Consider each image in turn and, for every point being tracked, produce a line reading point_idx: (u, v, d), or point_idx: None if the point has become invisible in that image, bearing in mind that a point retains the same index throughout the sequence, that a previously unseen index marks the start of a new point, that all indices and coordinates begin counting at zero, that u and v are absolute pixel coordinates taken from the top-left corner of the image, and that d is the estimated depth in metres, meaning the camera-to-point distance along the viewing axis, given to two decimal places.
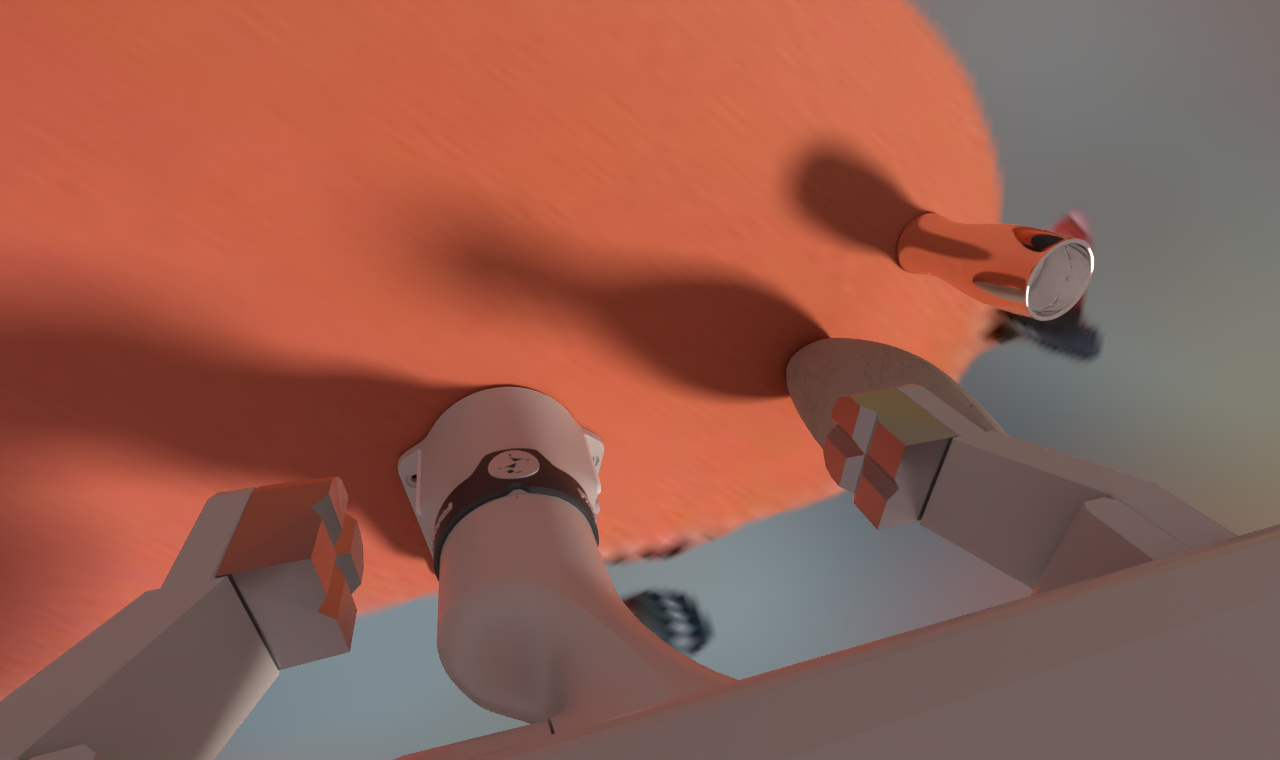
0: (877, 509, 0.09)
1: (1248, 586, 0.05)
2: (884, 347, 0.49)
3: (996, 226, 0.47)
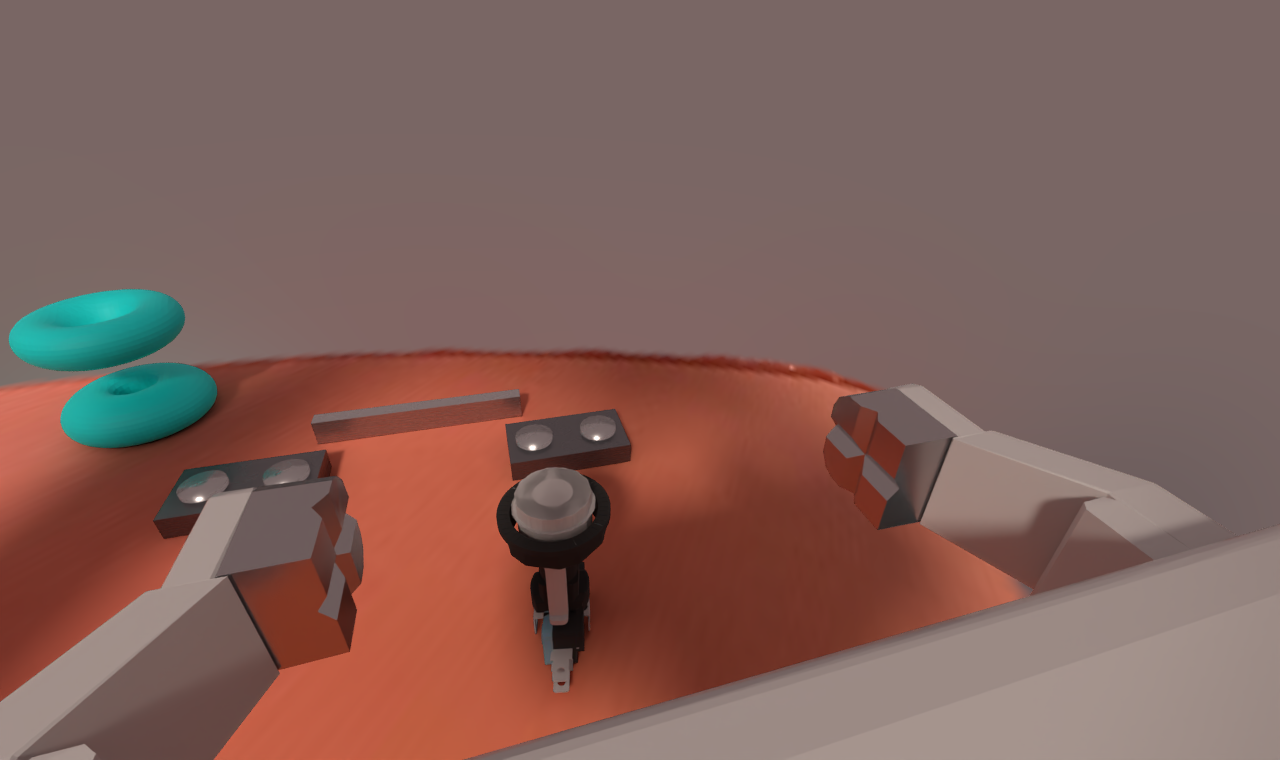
0: (878, 509, 0.09)
1: (1248, 586, 0.05)
2: None
3: None
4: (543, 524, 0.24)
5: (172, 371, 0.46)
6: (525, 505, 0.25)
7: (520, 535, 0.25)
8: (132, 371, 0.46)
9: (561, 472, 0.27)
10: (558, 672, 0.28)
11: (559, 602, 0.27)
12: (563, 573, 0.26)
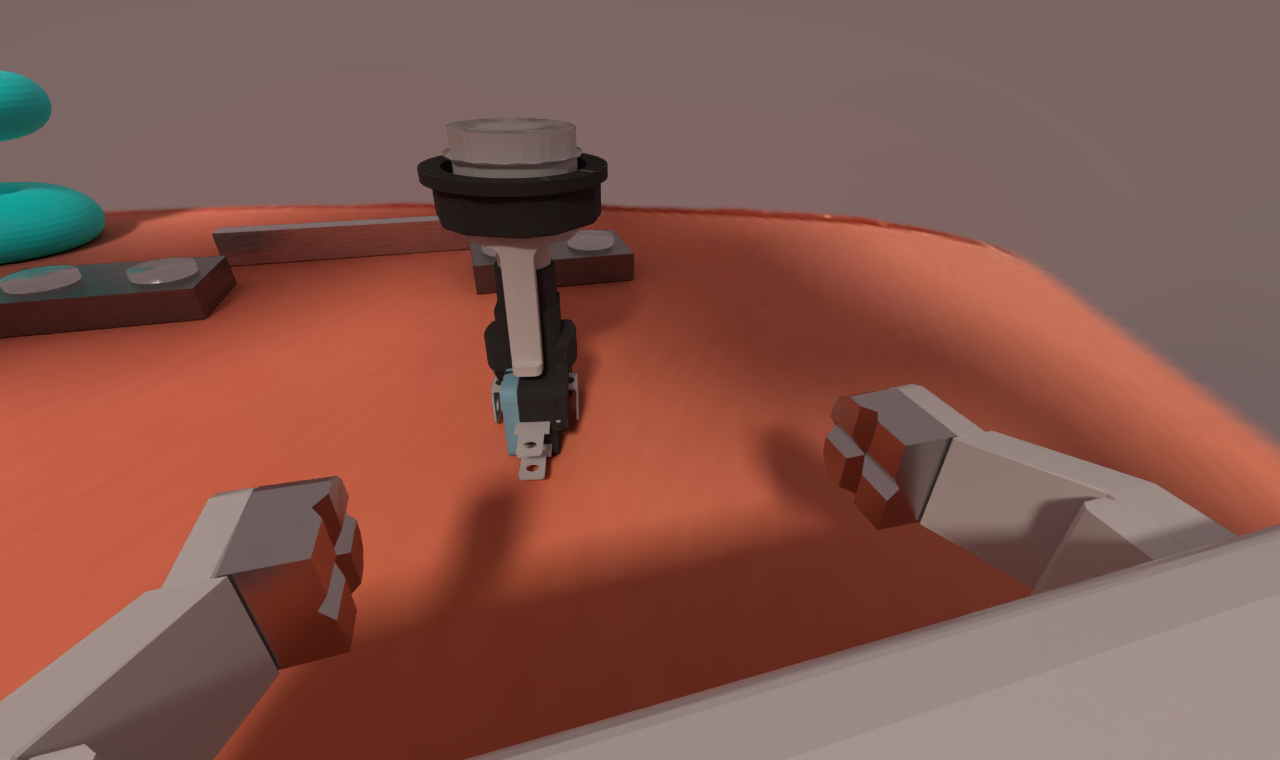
0: (878, 509, 0.09)
1: (1248, 586, 0.05)
2: None
3: None
4: (491, 146, 0.14)
5: (40, 185, 0.36)
6: (462, 128, 0.15)
7: (453, 174, 0.15)
8: None
9: (527, 119, 0.17)
10: (528, 459, 0.18)
11: (527, 333, 0.17)
12: (531, 268, 0.16)
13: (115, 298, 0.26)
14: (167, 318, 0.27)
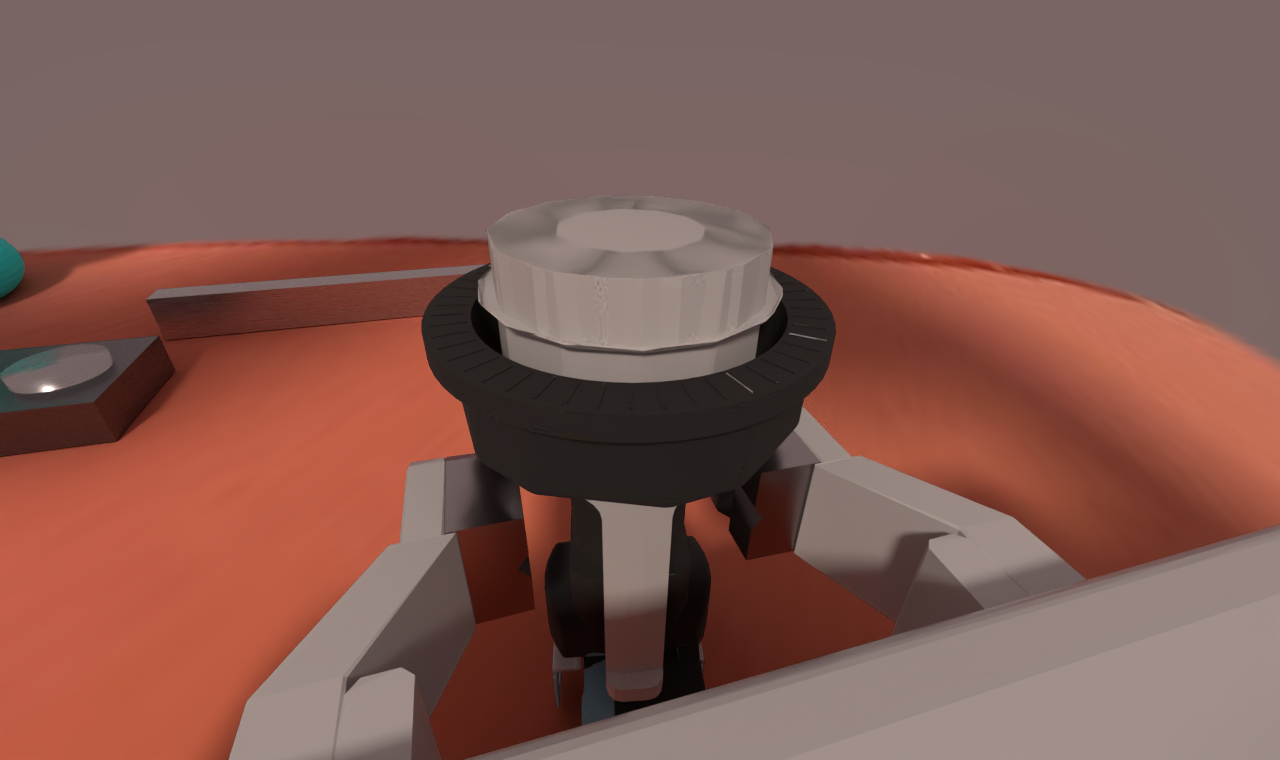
0: (745, 538, 0.09)
1: (1248, 586, 0.05)
2: None
3: None
4: (608, 304, 0.06)
5: None
6: (529, 248, 0.06)
7: (510, 364, 0.06)
8: None
9: (646, 201, 0.08)
10: None
11: (642, 631, 0.08)
12: (666, 531, 0.07)
13: None
14: (59, 443, 0.19)
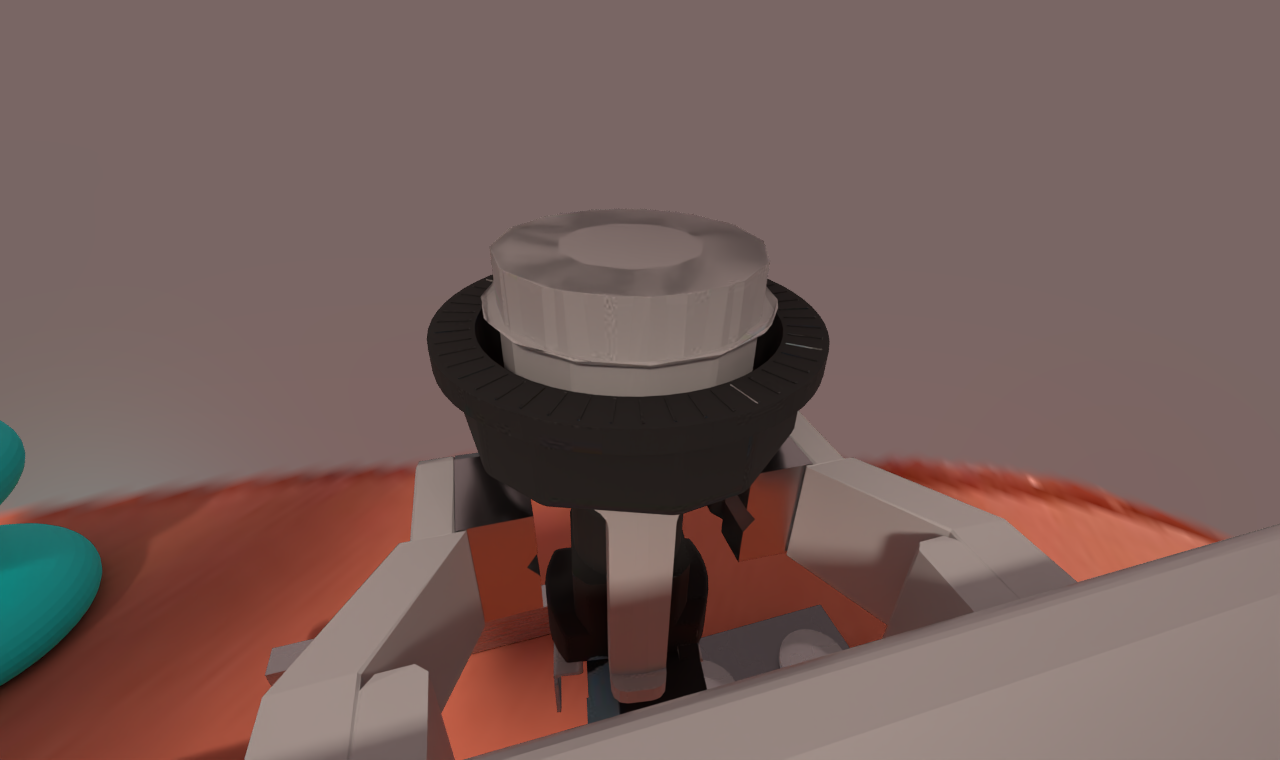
0: (737, 540, 0.08)
1: (1248, 586, 0.05)
2: None
3: None
4: (617, 322, 0.06)
5: (9, 553, 0.25)
6: (535, 266, 0.06)
7: (520, 381, 0.06)
8: None
9: (640, 215, 0.08)
10: None
11: (646, 633, 0.09)
12: (670, 536, 0.08)
13: None
14: None
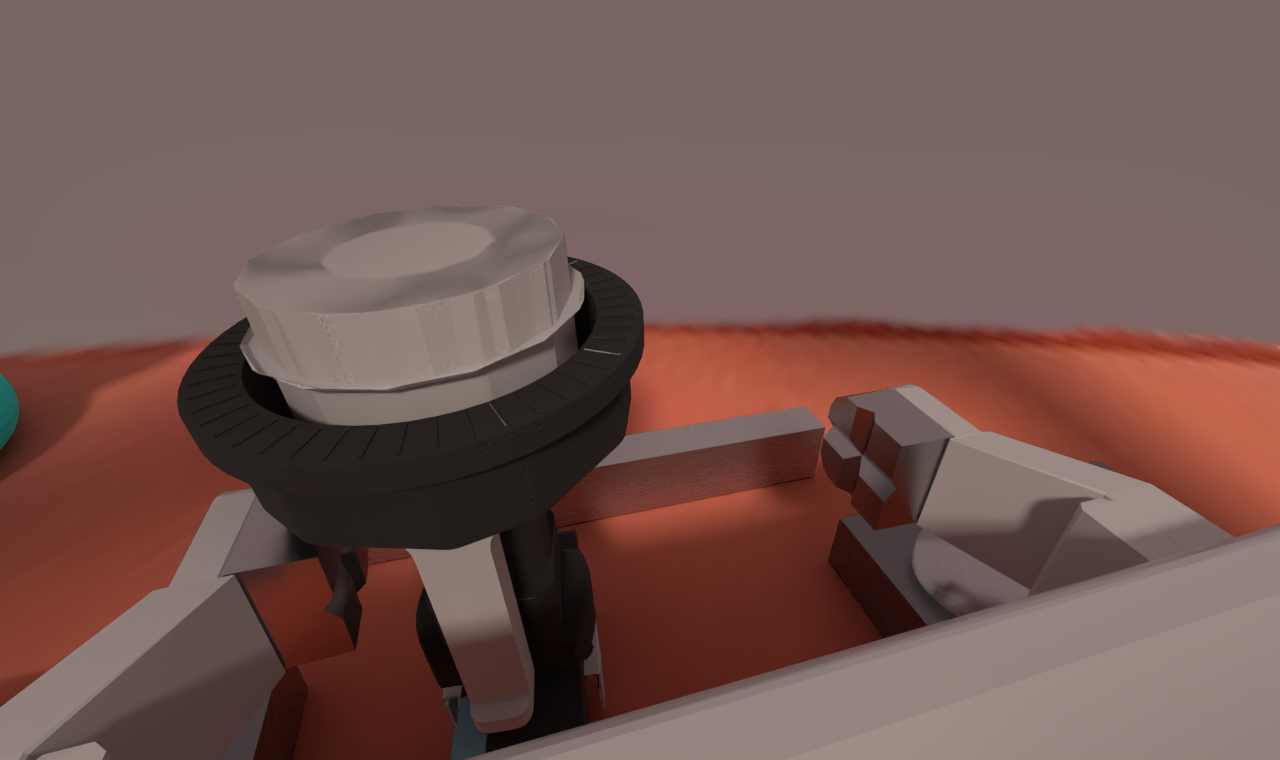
0: (874, 510, 0.09)
1: (1248, 586, 0.05)
2: None
3: None
4: (341, 342, 0.05)
5: None
6: (275, 282, 0.06)
7: (257, 412, 0.06)
8: None
9: (456, 210, 0.08)
10: None
11: (494, 662, 0.08)
12: (488, 564, 0.07)
13: None
14: None
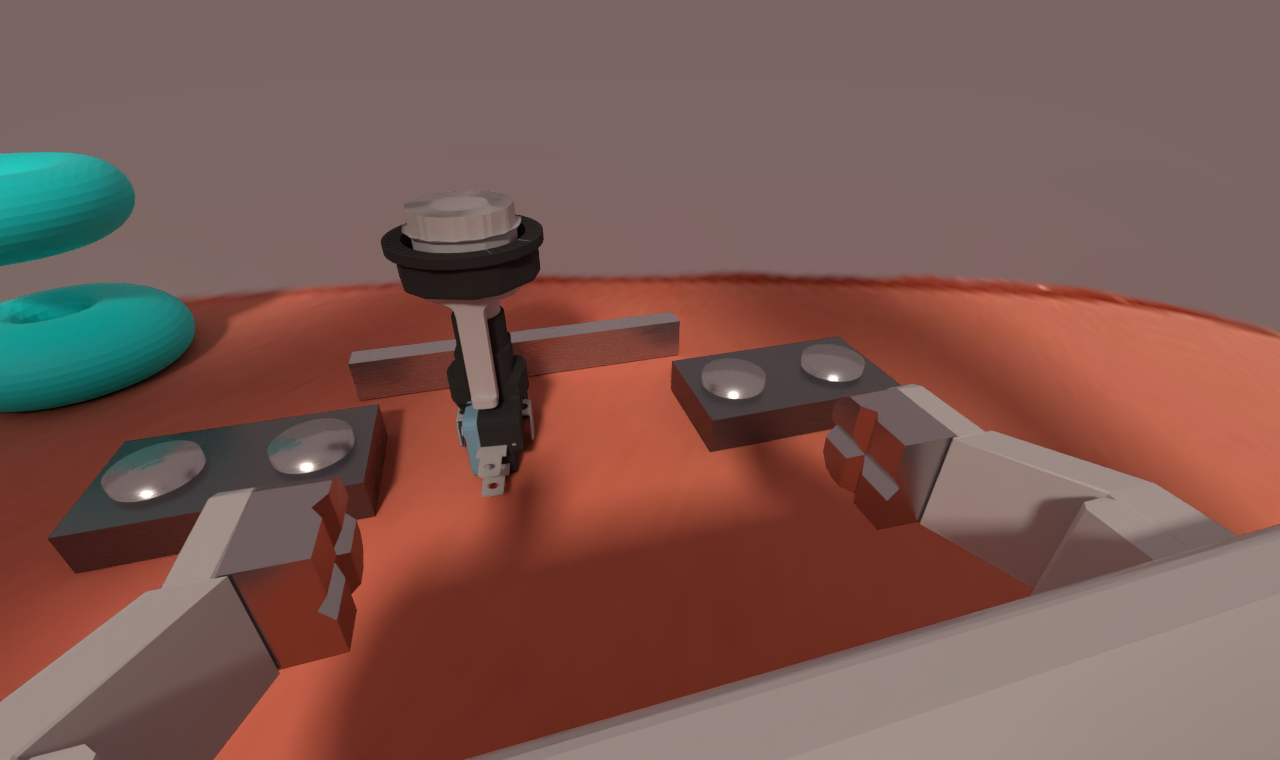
0: (877, 510, 0.09)
1: (1248, 586, 0.05)
2: None
3: None
4: (442, 227, 0.17)
5: (120, 291, 0.29)
6: (417, 210, 0.18)
7: (412, 250, 0.18)
8: (55, 292, 0.29)
9: (473, 192, 0.20)
10: (489, 477, 0.21)
11: (482, 373, 0.20)
12: (482, 320, 0.19)
13: None
14: None
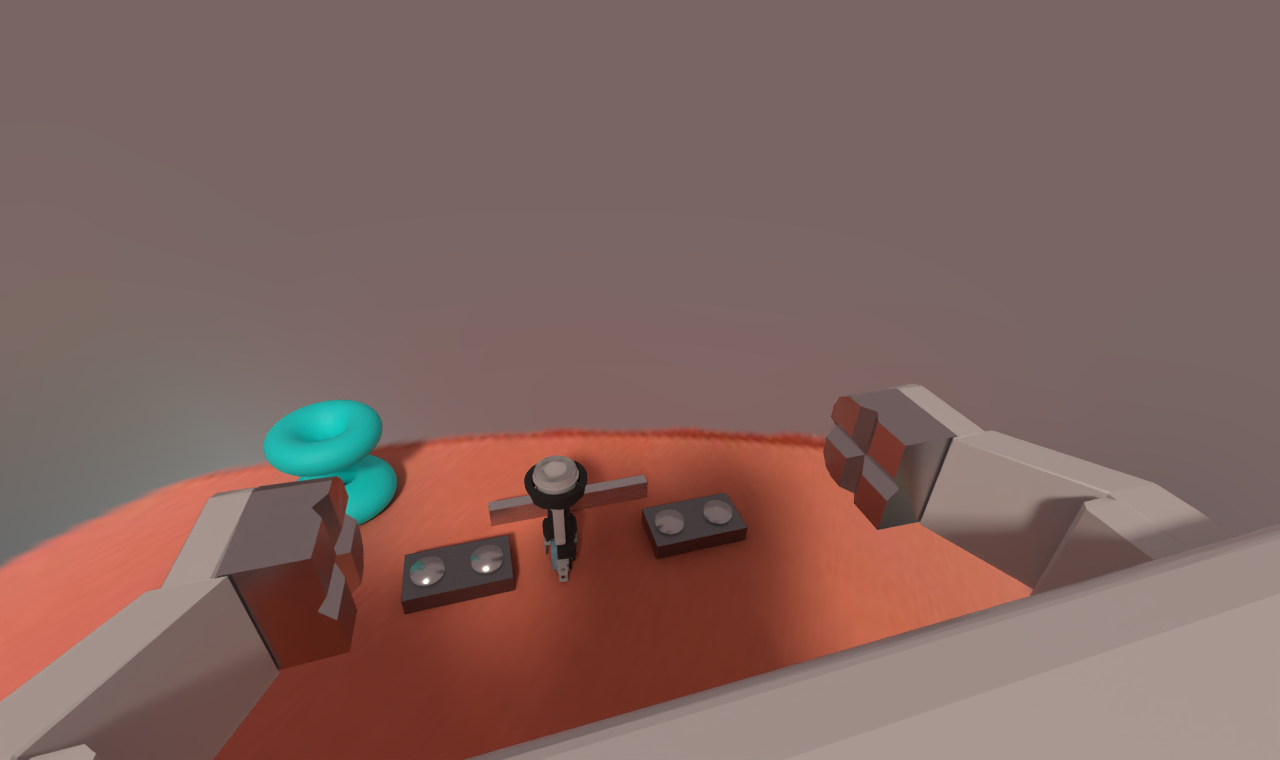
0: (878, 509, 0.09)
1: (1248, 586, 0.05)
2: None
3: None
4: (551, 485, 0.46)
5: (366, 464, 0.57)
6: (541, 476, 0.46)
7: (539, 492, 0.46)
8: None
9: (558, 457, 0.48)
10: None
11: (560, 531, 0.49)
12: (562, 513, 0.48)
13: (475, 587, 0.47)
14: (496, 592, 0.48)
